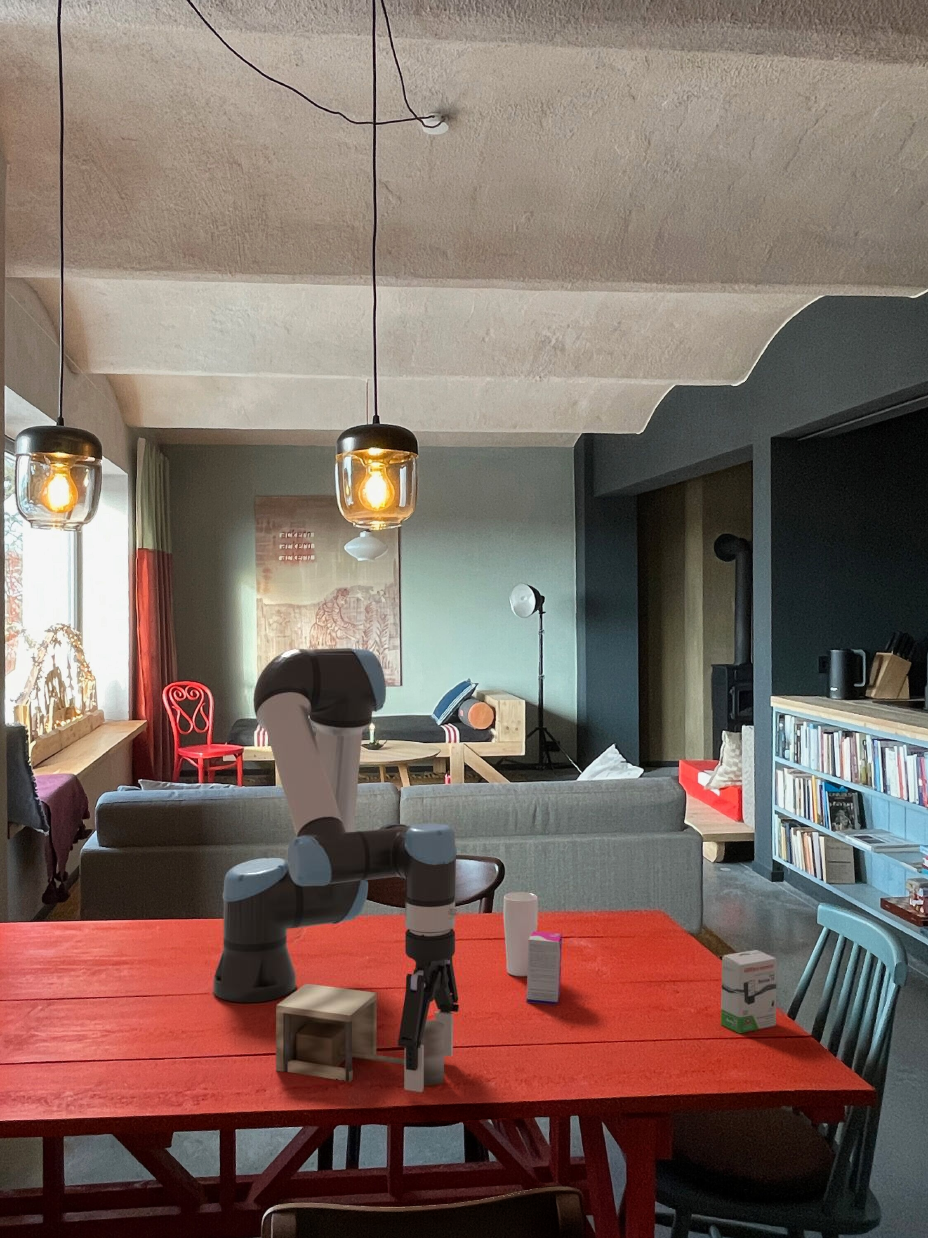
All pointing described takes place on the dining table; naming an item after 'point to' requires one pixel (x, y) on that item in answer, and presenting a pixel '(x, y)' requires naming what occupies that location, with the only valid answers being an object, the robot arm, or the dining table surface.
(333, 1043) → the tethered cylinder
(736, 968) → the ink box
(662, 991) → the dining table surface
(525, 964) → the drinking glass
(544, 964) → the supplement box
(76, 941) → the dining table surface
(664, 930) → the dining table surface
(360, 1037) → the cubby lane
